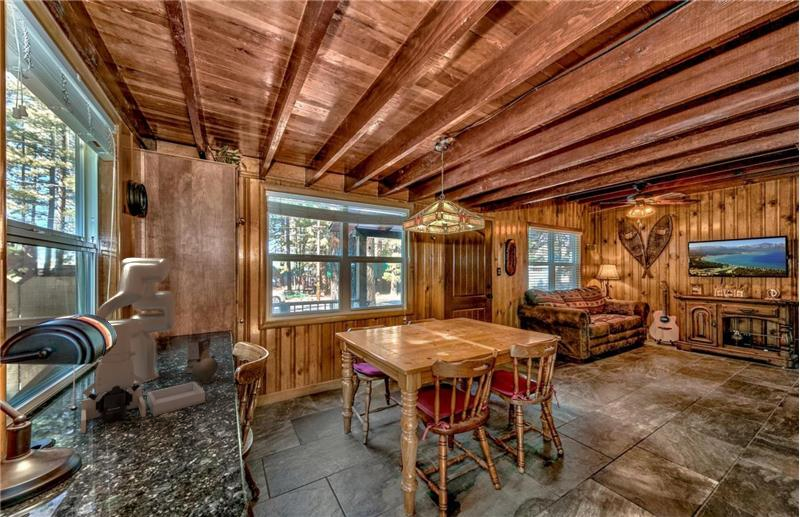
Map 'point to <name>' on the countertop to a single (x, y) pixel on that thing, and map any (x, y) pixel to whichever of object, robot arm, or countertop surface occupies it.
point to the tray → (175, 398)
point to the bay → (90, 413)
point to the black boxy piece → (114, 405)
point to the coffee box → (197, 351)
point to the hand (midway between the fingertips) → (114, 407)
